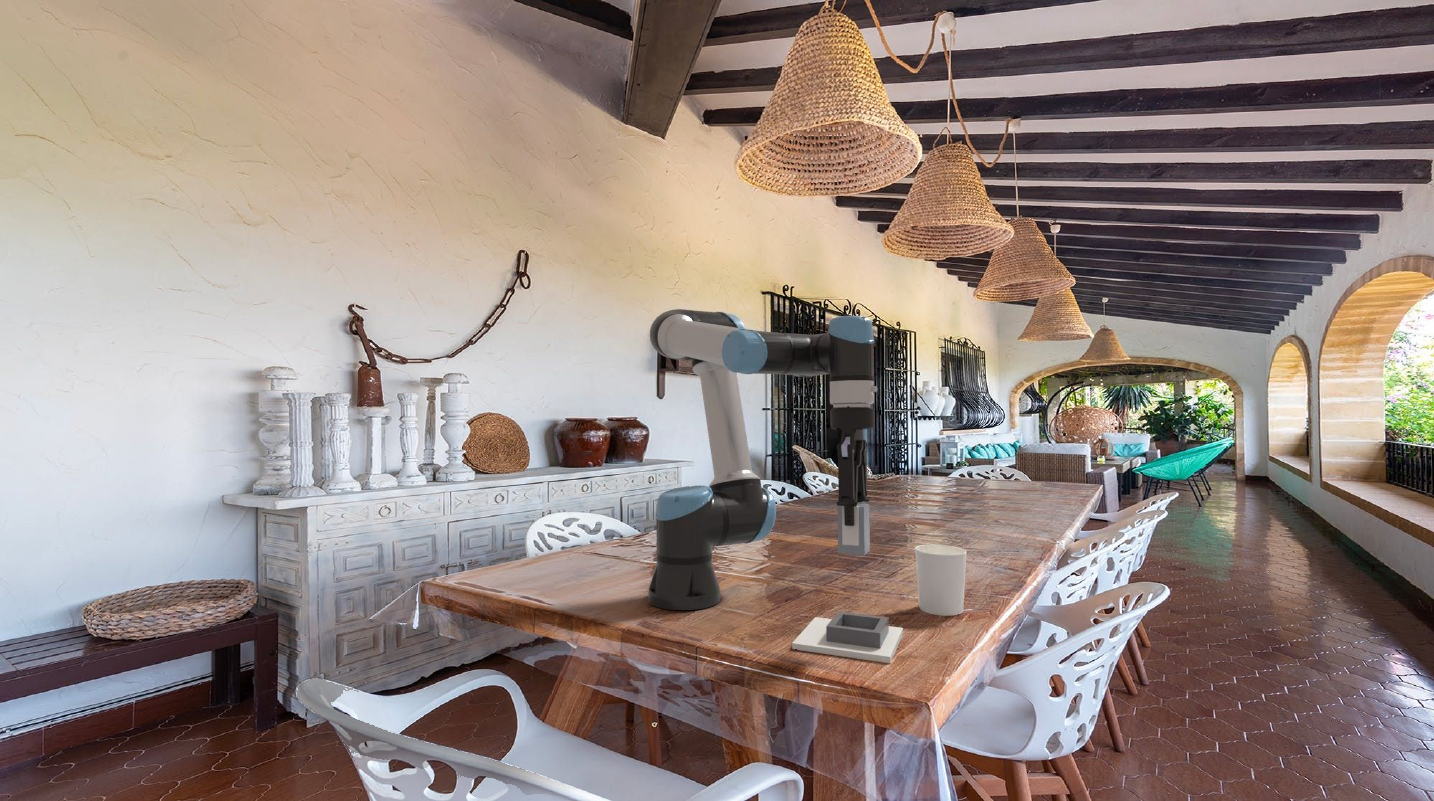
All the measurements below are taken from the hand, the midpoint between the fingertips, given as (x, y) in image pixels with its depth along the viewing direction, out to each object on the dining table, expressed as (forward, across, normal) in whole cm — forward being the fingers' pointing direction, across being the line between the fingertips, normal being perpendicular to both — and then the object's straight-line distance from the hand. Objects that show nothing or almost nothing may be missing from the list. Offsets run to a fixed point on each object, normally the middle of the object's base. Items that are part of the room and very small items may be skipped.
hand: (854, 541), depth 114 cm
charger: (+2, 0, 0) cm, 2 cm away
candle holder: (+17, +26, -12) cm, 33 cm away
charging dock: (+17, 0, +1) cm, 17 cm away
